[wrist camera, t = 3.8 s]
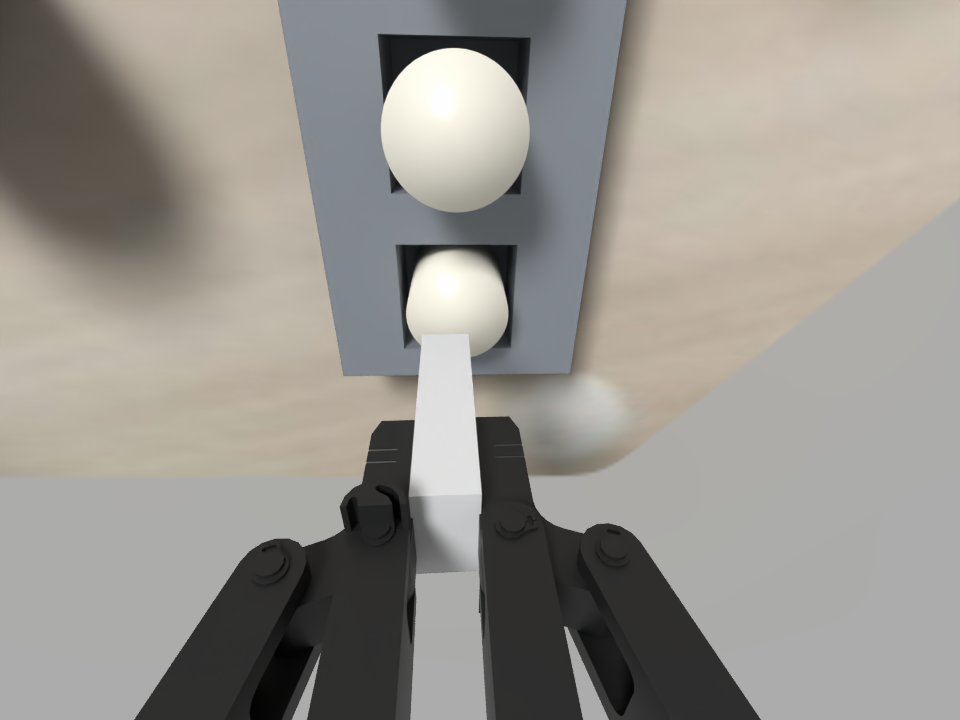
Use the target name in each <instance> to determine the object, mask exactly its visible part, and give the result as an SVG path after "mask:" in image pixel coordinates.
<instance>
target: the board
mask: <svg viewBox="0 0 960 720" xmlns="http://www.w3.org/2000/svg"><path fill="white" fill-rule="evenodd" d="M626 2H627V0H278V5H279V11H280V17H281V22H282V28H283V34H284V39H285V45H286V51H287V56H288V62H289V68H290V74H291V79H292V85H293V91H294V96H295V102H296V108H297V113H298V119H299V125H300V130H301V136H302V142H303V148H304V153H305V159H306V165H307V170H308V176H309V182H310V187H311V193H312V199H313V204H314V210H315V216H316V222H317V227H318V233H319V239H320V244H321V250H322V256H323V261H324V267H325V273H326V278H327V284H328V290H329V296H330V301H331V307H332V313H333V318H334V324H335V330H336V335H337V341H338V347H339V352H340V358H341V364H342V370H343V375H344V376H392V375H419V367H420V355H421V345H420V344H419V343H418V342H417V341H416V340H415V338H414V337H413V335H412V334H411V332H410V329H409V327H408V324H407V318H406V309H407V302H408V297H409V292H410V287H411V282H412V277H413V272H414V266H415V262H416V259H417V256H418V254H419V252H420V251H421V249H422V248H423V247H424V245H489V246H490V247H491V248H492V250H493V251H494V253H495V255H496V257H497V260H498V263H499V268H500V272H501V277H502V282H503V286H504V291H505V296H506V300H507V305H508V322H507V326H506V329H505V331H504V333H503V335H502V336H501V338H500V339H499V340H498V342H497V343H496V344H495V345H494V346H493V347H491V348H490V349H489V350H487V351H485V352H484V353H482V354H479V355H477V356H474V357H470V358H471V370H472V375H482V374H570V369H571V363H572V356H573V350H574V343H575V337H576V330H577V324H578V317H579V310H580V304H581V297H582V291H583V284H584V278H585V271H586V265H587V258H588V251H589V245H590V238H591V232H592V225H593V219H594V212H595V206H596V199H597V192H598V186H599V179H600V173H601V166H602V160H603V153H604V146H605V140H606V133H607V127H608V120H609V114H610V107H611V101H612V94H613V87H614V81H615V74H616V68H617V61H618V55H619V48H620V42H621V35H622V28H623V22H624V15H625V9H626ZM446 48H460V49H467V50H471V51H475V52H478V53H480V54H482V55H485V56H487V57H488V58H490V59H491V60H493V61H495V62H496V63H497V64H498V65H500V66H501V67H502V68H503V69H504V70H505V71H506V72H507V73H508V74H509V75H510V77H511V78H512V79H513V81H514V82H515V84H516V85H517V87H518V89H519V91H520V92H521V94H522V97H523V99H524V102H525V105H526V108H527V112H528V117H529V126H530V139H529V147H528V152H527V156H526V160H525V162H524V165H523V167H522V170H521V172H520V173H519V175H518V177H517V179H516V180H515V182H514V183H513V184H512V186H511V187H510V188H509V189H508V190H507V191H506V192H505V193H504V194H503V195H502V196H501V197H500V198H498V199H497V200H495V201H494V202H492V203H491V204H489V205H487V206H485V207H483V208H480V209H477V210H473V211H468V212H458V213H456V212H446V211H441V210H437V209H434V208H431V207H429V206H427V205H425V204H423V203H421V202H420V201H418V200H417V199H415V198H414V197H413V196H411V195H410V194H409V193H408V192H407V191H406V190H405V189H404V188H403V187H402V186H401V185H400V183H399V182H398V180H397V179H396V178H395V176H394V174H393V173H392V171H391V169H390V167H389V165H388V162H387V160H386V157H385V154H384V150H383V145H382V139H381V118H382V112H383V107H384V103H385V100H386V97H387V95H388V92H389V90H390V88H391V86H392V85H393V83H394V81H395V80H396V79H397V77H398V76H399V74H400V73H401V72H402V71H403V70H404V69H405V68H406V67H407V66H408V65H409V64H411V63H412V62H413V61H414V60H416V59H418V58H419V57H421V56H423V55H425V54H427V53H430V52H433V51H436V50H440V49H446Z"/></svg>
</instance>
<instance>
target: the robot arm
mask: <svg viewBox="0 0 960 720" xmlns="http://www.w3.org/2000/svg"><path fill="white" fill-rule="evenodd" d="M340 510H341V514H342V519H343V523H344V528H345V529H344V530H342V531H341V532H340V533H338V534H336V535H335V536H333V537H331V538H328V539H326V540H323V541H320V542H317V543H314V544H311V545H308V546H305V547H302V546H300V544H299V543H298V542H296V541H293V540H291V539H273V540H270V541H267V542H264V543H262V544H260V545H259V546H257V547H255V548H254V549H252V550H251V551H249V553H248V554H247V555H246V556H245V557H244V558H243V559H242V560H241V561H240V563H239V564H238V566H237V567H236V569H235V570H234V572H233V573H232V575H231V576H230V578H229V579H228V581H227V582H226V584H225V585H224V587H223V588H222V590H221V591H220V593H219V594H218V596H217V597H216V599H215V600H214V601H213V603H212V604H211V606H210V607H209V609H208V610H207V612H206V613H205V615H204V617H203V618H202V619H201V621H200V623H199V624H198V625H197V627H196V628H195V630H194V632H193V633H192V634H191V636H190V637H189V639H188V640H187V642H186V643H185V645H184V646H183V648H182V649H181V651H180V652H179V654H178V655H177V657H176V658H175V660H174V661H173V663H172V664H171V666H170V667H169V669H168V670H167V672H166V673H165V675H164V676H163V678H162V679H161V681H160V682H159V684H158V685H157V687H156V688H155V690H154V691H153V693H152V694H151V696H150V697H149V699H148V700H147V702H146V703H145V705H144V706H143V708H142V709H141V711H140V712H139V714H138V715H137V716H136V718H135V719H134V720H292V717H293V715H294V713H295V711H296V708H297V706H298V704H299V701H300V699H301V697H302V694H303V692H304V690H305V687H306V685H307V683H308V680H309V678H310V676H311V673H312V671H313V669H314V667H315V664H316V662H317V660H318V657H319V655H320V653H321V655H320V660H319V665H318V670H317V674H316V679H315V684H314V689H313V694H312V699H311V703H310V708H309V713H308V718H307V720H410V713H411V694H412V674H413V673H412V672H413V654H414V653H413V652H414V635H415V615H416V591H415V578H416V577H415V576H416V574H422V573H444V572H465V571H479V576H480V595H479V613H481V629H482V645H483V662H484V679H485V696H486V713H487V720H583V718H582V713H581V708H580V703H579V698H578V693H577V688H576V683H575V678H574V674H573V669H572V664H571V659H570V654H569V649H568V644H567V640H566V634H565V630H564V626H566V627H568V629H569V632H570V634H571V636H572V638H573V640H574V643H575V645H576V647H577V649H578V652H579V654H580V656H581V658H582V661H583V663H584V665H585V667H586V670H587V672H588V674H589V676H590V678H591V681H592V682H593V685H594V687H595V689H596V692H597V694H598V696H599V698H600V700H601V703H602V705H603V707H604V709H605V712H606V714H607V716H608V718H609V720H761V719H760V718H759V716H758V715H757V713H756V712H755V711H754V709H753V708H752V706H751V705H750V703H749V702H748V700H747V699H746V697H745V696H744V694H743V693H742V691H741V690H740V688H739V687H738V685H737V684H736V682H735V681H734V680H733V678H732V677H731V675H730V674H729V672H728V671H727V669H726V668H725V666H724V665H723V663H722V662H721V660H720V659H719V658H718V656H717V654H716V653H715V651H714V650H713V649H712V647H711V646H710V644H709V643H708V641H707V640H706V638H705V637H704V635H703V634H702V632H701V631H700V629H699V628H698V626H697V625H696V623H695V622H694V620H693V619H692V618H691V616H690V615H689V613H688V612H687V610H686V609H685V607H684V606H683V604H682V603H681V601H680V600H679V598H678V597H677V595H676V594H675V592H674V591H673V590H672V588H671V587H670V585H669V584H668V582H667V581H666V579H665V578H664V576H663V575H662V573H661V572H660V570H659V569H658V567H657V566H656V564H655V563H654V561H653V560H652V558H651V557H650V556H649V554H648V553H647V551H646V550H645V548H644V547H643V545H642V544H641V542H640V541H639V540H638V539H637V538H636V537H635V536H634V535H633V534H632V533H631V532H629V531H627V530H625V529H624V528H622V527H620V526H616V525H612V524H596V525H594V526H592V527H591V528H588V529H587V530H586V532H585V533H584V534H583V533H579V532H575V531H571V530H567V529H563V528H561V527H558V526H555V525H553V524H552V523H550V522H548V521H547V520H546V519H545V518H543V517H542V516H541V515H540V513H539V512H538V511H537V509H536V508H535V505H534V502H533V499H532V493H531V488H530V483H529V478H528V473H527V468H526V463H525V458H524V452H523V447H522V442H521V437H520V432H519V428H518V427H517V426H516V425H515V423H514V422H513V421H512V420H511V418H510V417H475V407H474V395H473V382H472V370H471V358H470V346H469V334H429V335H422V343H421V355H420V367H419V379H418V391H417V403H416V415H415V420H402V421H382V422H381V423H380V424H379V425H378V427H377V428H376V429H375V431H374V432H373V433H372V435H371V441H370V446H369V452H368V456H367V464H366V466H365V471H364V477H363V482H362V484H361V485H359V486H357V487H355V488H353V489H352V490H351V491H350V492H349V493H348V494H347V495H346V496H345V497H344V499H343V501H342V503H341V505H340Z"/></svg>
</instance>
